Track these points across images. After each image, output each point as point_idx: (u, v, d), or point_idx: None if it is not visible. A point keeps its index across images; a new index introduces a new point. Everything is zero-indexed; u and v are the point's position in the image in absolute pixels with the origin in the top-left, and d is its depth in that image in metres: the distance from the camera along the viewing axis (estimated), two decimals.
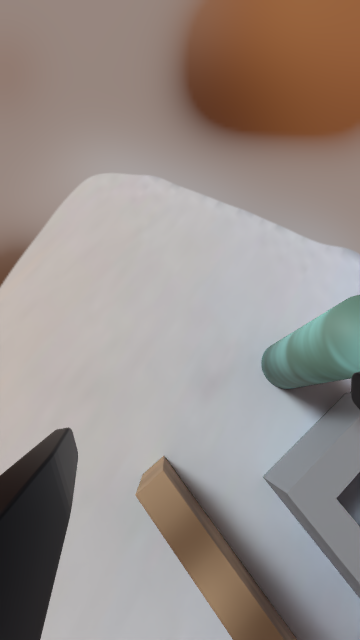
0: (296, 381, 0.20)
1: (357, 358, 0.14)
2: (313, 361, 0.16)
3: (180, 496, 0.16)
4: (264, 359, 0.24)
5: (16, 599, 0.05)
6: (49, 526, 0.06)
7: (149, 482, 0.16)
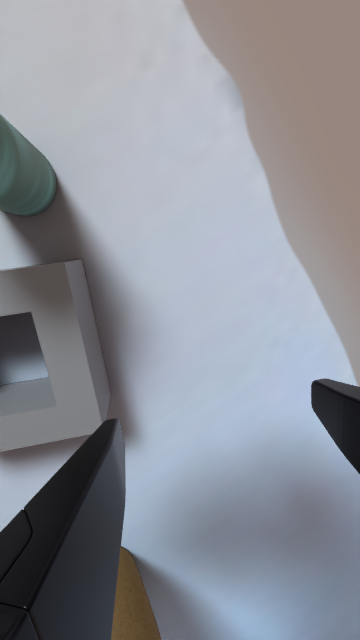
0: None
1: None
2: None
3: None
4: None
5: (96, 579, 0.05)
6: (113, 512, 0.06)
7: None
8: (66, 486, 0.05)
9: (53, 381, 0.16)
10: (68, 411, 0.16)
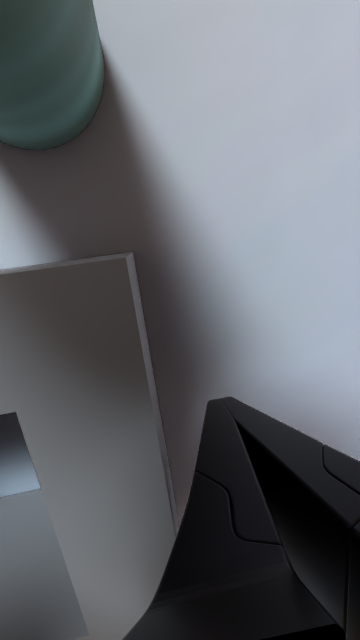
0: None
1: None
2: None
3: None
4: None
5: None
6: None
7: None
8: (224, 453, 0.06)
9: (80, 582, 0.06)
10: None
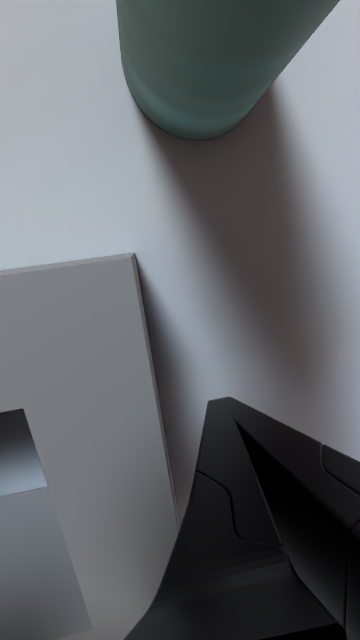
0: None
1: None
2: None
3: None
4: None
5: None
6: None
7: None
8: (224, 453, 0.06)
9: (85, 576, 0.06)
10: (120, 635, 0.06)
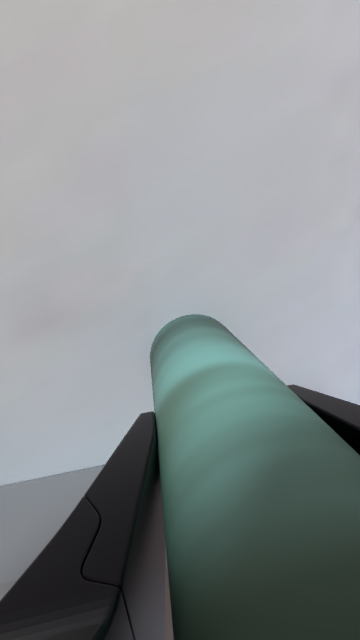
0: None
1: None
2: (165, 533, 0.05)
3: None
4: (162, 333, 0.12)
5: (154, 565, 0.05)
6: (159, 501, 0.06)
7: None
8: (122, 474, 0.05)
9: None
10: None
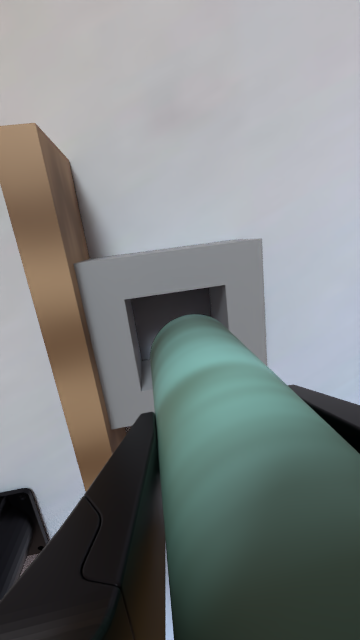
0: None
1: None
2: (165, 533, 0.05)
3: (44, 168, 0.12)
4: (162, 333, 0.12)
5: (154, 565, 0.05)
6: (159, 501, 0.06)
7: (11, 126, 0.12)
8: (121, 474, 0.05)
9: None
10: None
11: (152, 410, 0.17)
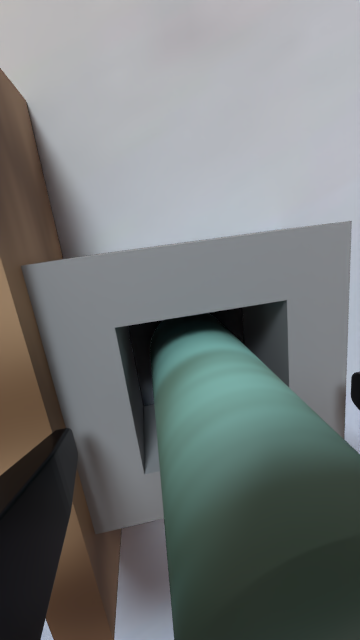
0: None
1: None
2: (161, 487, 0.06)
3: None
4: (161, 327, 0.13)
5: (16, 599, 0.05)
6: (49, 526, 0.06)
7: None
8: None
9: None
10: None
11: (162, 502, 0.11)
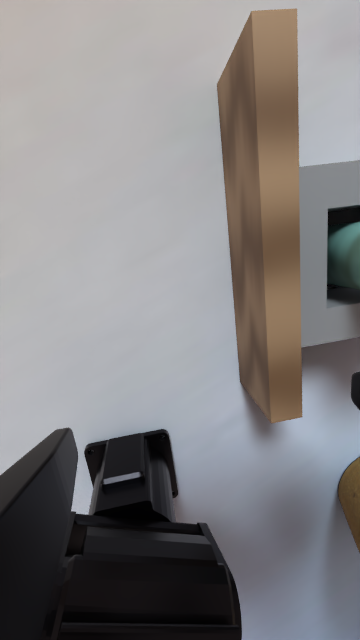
0: (336, 273, 0.17)
1: None
2: None
3: (296, 57, 0.12)
4: None
5: (16, 599, 0.05)
6: (49, 526, 0.06)
7: (273, 12, 0.12)
8: None
9: None
10: None
11: (333, 329, 0.17)
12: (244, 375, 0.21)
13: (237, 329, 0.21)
